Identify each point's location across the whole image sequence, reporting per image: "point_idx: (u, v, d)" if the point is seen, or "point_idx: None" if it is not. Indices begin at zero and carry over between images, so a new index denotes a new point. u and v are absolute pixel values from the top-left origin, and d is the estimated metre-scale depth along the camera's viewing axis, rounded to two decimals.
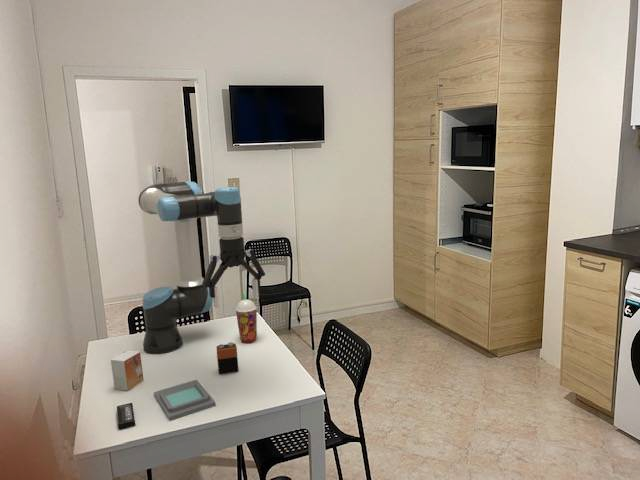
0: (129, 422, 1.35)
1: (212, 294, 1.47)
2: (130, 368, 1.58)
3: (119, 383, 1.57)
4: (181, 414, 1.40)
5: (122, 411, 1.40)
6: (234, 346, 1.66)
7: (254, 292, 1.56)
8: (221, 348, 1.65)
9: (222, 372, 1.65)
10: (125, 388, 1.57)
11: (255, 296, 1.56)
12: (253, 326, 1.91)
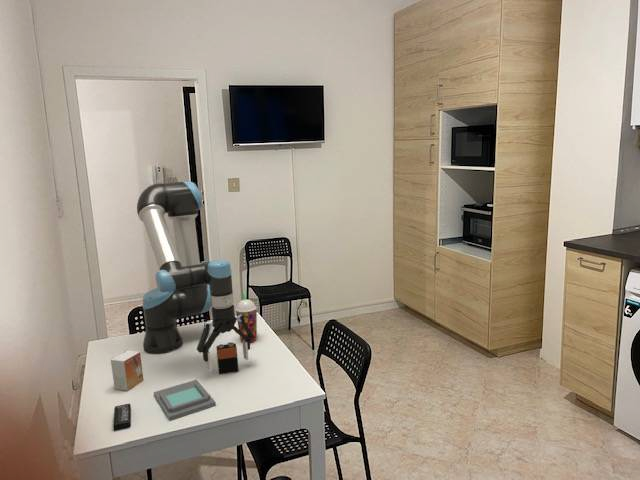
0: (124, 423, 1.35)
1: (205, 358, 1.62)
2: (130, 368, 1.58)
3: (119, 383, 1.57)
4: (181, 414, 1.40)
5: (119, 412, 1.40)
6: (234, 346, 1.66)
7: (244, 353, 1.70)
8: (221, 348, 1.65)
9: (222, 372, 1.65)
10: (125, 388, 1.57)
11: (245, 357, 1.70)
12: (253, 326, 1.91)
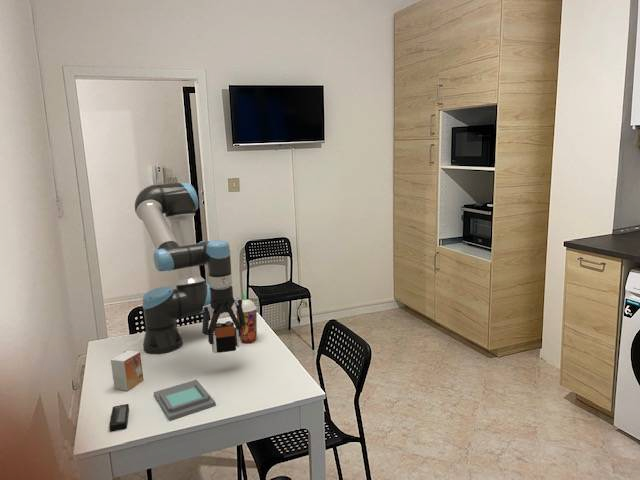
0: (120, 424, 1.34)
1: (211, 341, 1.63)
2: (130, 368, 1.58)
3: (119, 383, 1.57)
4: (181, 414, 1.40)
5: (116, 413, 1.40)
6: (232, 325, 1.65)
7: (235, 340, 1.69)
8: (219, 327, 1.64)
9: (219, 351, 1.65)
10: (125, 388, 1.57)
11: (236, 344, 1.69)
12: (253, 326, 1.91)
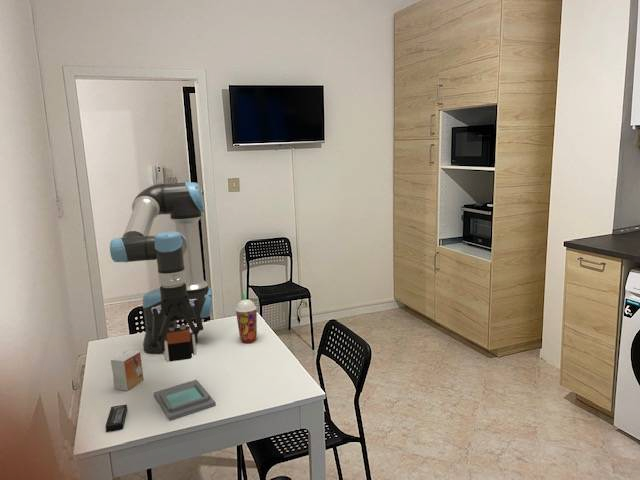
0: (116, 425, 1.34)
1: (162, 348, 1.41)
2: (130, 368, 1.58)
3: (119, 383, 1.57)
4: (181, 414, 1.40)
5: (114, 413, 1.40)
6: (186, 329, 1.44)
7: (192, 347, 1.47)
8: (171, 331, 1.42)
9: (172, 359, 1.43)
10: (125, 388, 1.57)
11: (193, 352, 1.47)
12: (253, 326, 1.91)
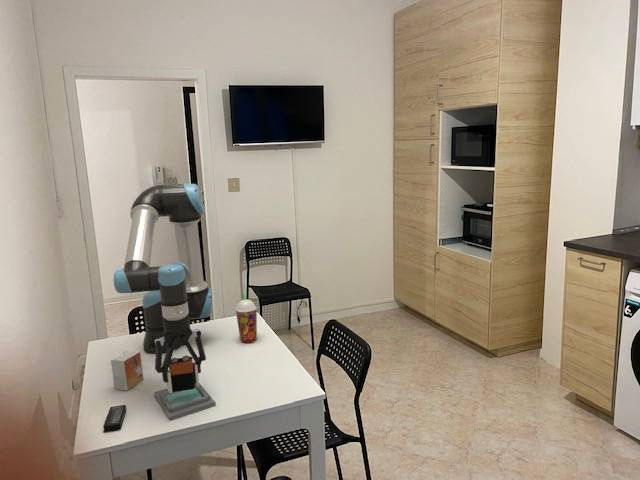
0: (114, 425, 1.34)
1: (165, 379, 1.43)
2: (130, 368, 1.58)
3: (119, 383, 1.57)
4: (181, 414, 1.40)
5: (112, 413, 1.40)
6: (189, 360, 1.45)
7: (194, 377, 1.49)
8: (174, 362, 1.44)
9: (175, 390, 1.45)
10: (125, 388, 1.57)
11: (195, 381, 1.49)
12: (253, 326, 1.91)
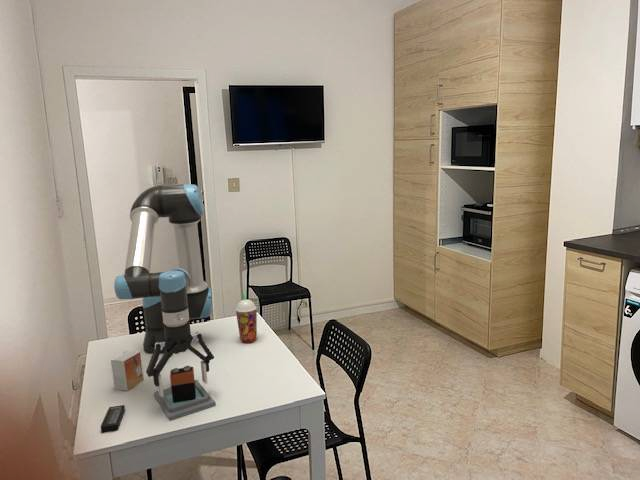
0: (111, 426, 1.34)
1: (156, 383, 1.42)
2: (130, 368, 1.58)
3: (119, 383, 1.57)
4: (181, 414, 1.40)
5: (111, 414, 1.40)
6: (190, 370, 1.46)
7: (203, 376, 1.50)
8: (175, 373, 1.45)
9: (177, 400, 1.46)
10: (125, 388, 1.57)
11: (204, 380, 1.50)
12: (253, 326, 1.91)
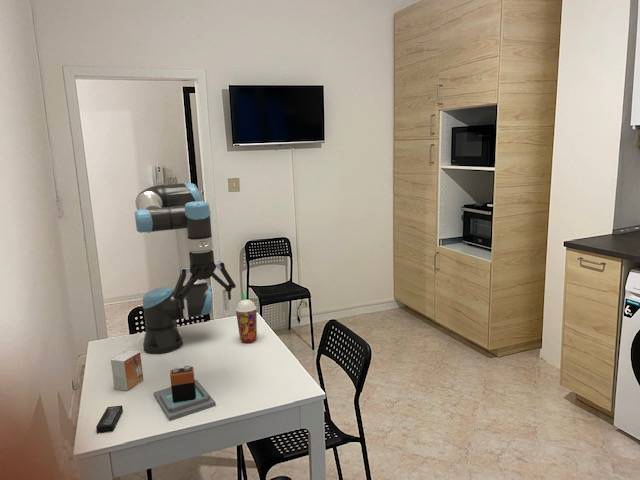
0: (107, 427, 1.34)
1: (182, 306, 1.51)
2: (130, 368, 1.58)
3: (119, 383, 1.57)
4: (181, 414, 1.40)
5: (108, 414, 1.39)
6: (190, 370, 1.46)
7: (225, 303, 1.59)
8: (175, 373, 1.45)
9: (177, 400, 1.46)
10: (125, 388, 1.57)
11: (226, 307, 1.59)
12: (253, 326, 1.91)
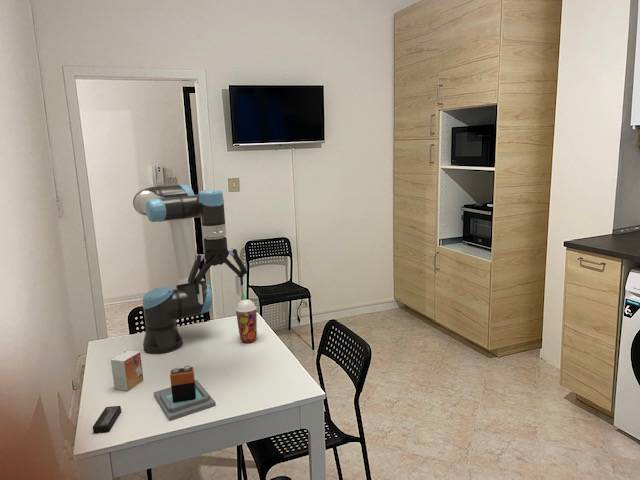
0: (103, 427, 1.33)
1: (197, 291, 1.56)
2: (130, 368, 1.58)
3: (119, 383, 1.57)
4: (181, 414, 1.40)
5: (105, 414, 1.39)
6: (190, 370, 1.46)
7: (237, 289, 1.65)
8: (175, 373, 1.45)
9: (177, 400, 1.46)
10: (125, 388, 1.57)
11: (238, 293, 1.65)
12: (253, 326, 1.91)
